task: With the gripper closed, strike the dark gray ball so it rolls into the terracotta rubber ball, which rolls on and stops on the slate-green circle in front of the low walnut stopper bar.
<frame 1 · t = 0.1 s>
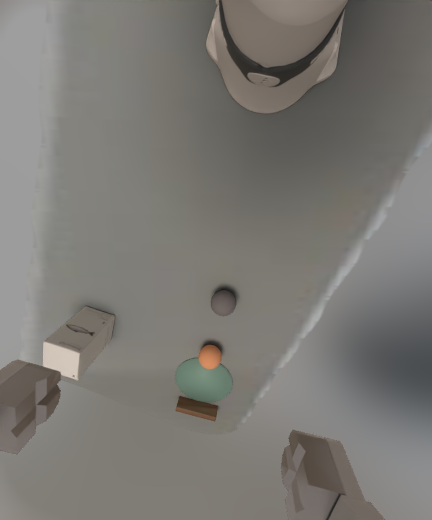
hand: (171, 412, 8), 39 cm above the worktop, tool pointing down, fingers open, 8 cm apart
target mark: (203, 380, 60), on the worktop
supplement box: (99, 321, 57), on the worktop
object ball: (209, 356, 54), on the worktop
dark gray ball: (223, 303, 48), on the worktop
stopper bar: (198, 403, 63), on the worktop
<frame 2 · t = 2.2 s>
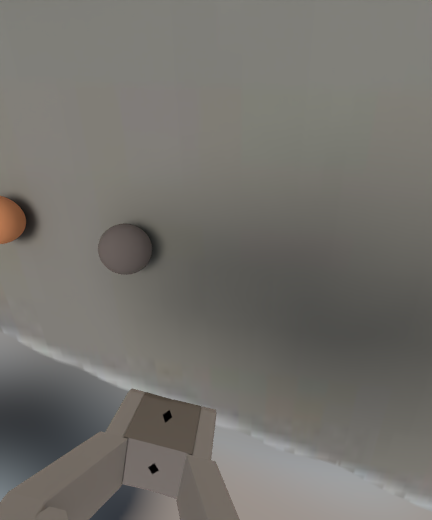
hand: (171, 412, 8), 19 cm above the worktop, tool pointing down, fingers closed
dark gray ball: (126, 249, 24), on the worktop
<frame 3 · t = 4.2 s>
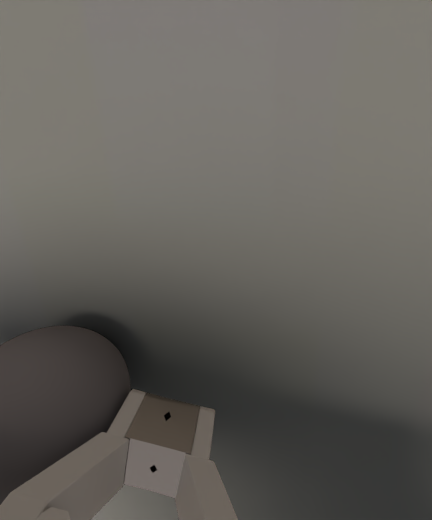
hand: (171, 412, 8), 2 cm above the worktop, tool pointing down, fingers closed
dark gray ball: (51, 402, 8), on the worktop, touching gripper
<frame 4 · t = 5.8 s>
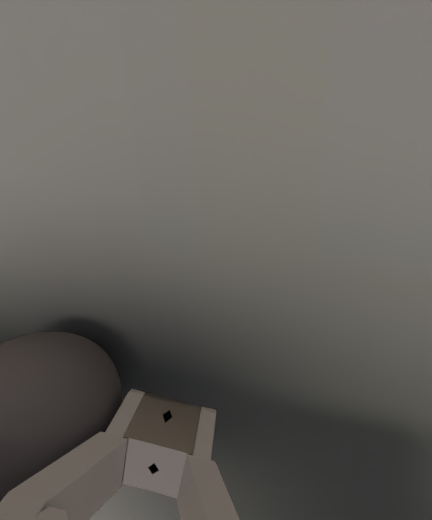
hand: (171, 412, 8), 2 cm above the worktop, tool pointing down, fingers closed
dark gray ball: (38, 412, 8), on the worktop
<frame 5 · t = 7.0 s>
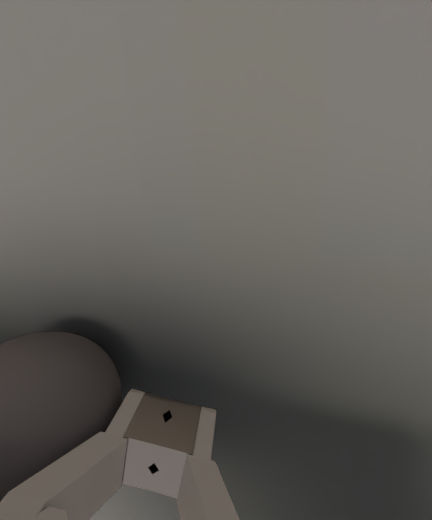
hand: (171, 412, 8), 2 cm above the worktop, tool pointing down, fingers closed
dark gray ball: (38, 412, 8), on the worktop
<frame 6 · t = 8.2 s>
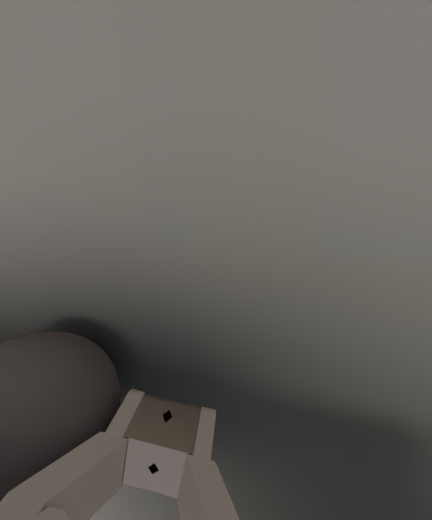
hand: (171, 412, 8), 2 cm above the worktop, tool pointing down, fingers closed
dark gray ball: (37, 411, 8), on the worktop
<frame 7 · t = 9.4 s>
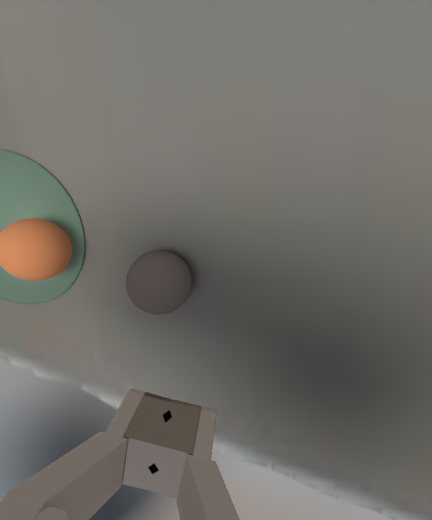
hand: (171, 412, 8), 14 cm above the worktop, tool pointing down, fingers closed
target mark: (12, 232, 22), on the worktop
object ball: (36, 249, 20), on the worktop
dark gray ball: (160, 282, 19), on the worktop
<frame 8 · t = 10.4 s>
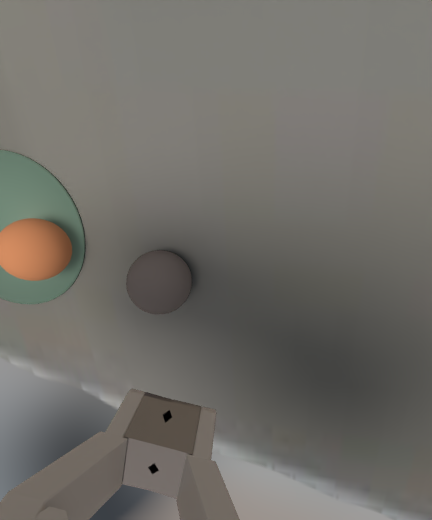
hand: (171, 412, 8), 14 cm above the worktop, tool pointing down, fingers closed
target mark: (12, 232, 22), on the worktop
object ball: (36, 249, 20), on the worktop
dark gray ball: (160, 281, 19), on the worktop
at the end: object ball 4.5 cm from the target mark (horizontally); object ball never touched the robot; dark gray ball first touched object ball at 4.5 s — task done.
